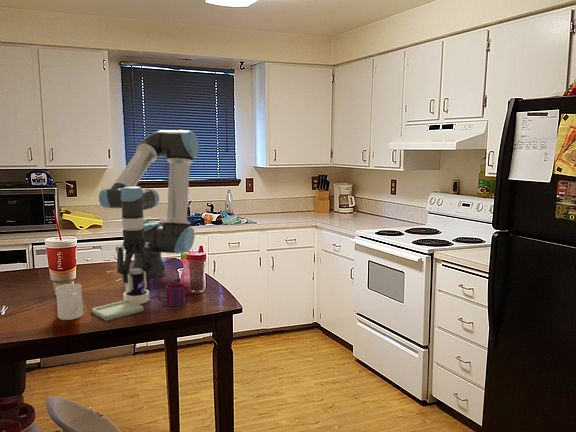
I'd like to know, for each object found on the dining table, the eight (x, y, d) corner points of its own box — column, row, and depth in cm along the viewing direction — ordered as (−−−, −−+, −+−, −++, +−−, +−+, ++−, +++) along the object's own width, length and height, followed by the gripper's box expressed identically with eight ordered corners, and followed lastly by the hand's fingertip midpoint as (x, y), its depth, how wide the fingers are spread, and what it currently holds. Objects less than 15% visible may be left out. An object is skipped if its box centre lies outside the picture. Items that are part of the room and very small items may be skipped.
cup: (186, 305, 187) (186, 287, 186) (158, 308, 183) (158, 290, 182) (183, 299, 193) (182, 282, 192) (156, 303, 189) (155, 285, 188)
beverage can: (139, 303, 189) (138, 271, 187) (125, 302, 190) (124, 271, 188) (147, 298, 194) (145, 268, 193) (133, 297, 195) (132, 267, 194)
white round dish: (141, 295, 199) (141, 287, 198) (154, 300, 192) (153, 292, 192) (119, 300, 192) (118, 292, 192) (131, 306, 186) (130, 298, 185)
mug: (55, 315, 176) (53, 286, 174) (78, 310, 181) (77, 282, 179) (65, 325, 166) (63, 294, 165) (90, 320, 171) (88, 290, 170)
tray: (128, 303, 188) (128, 299, 188) (143, 310, 181) (143, 306, 180) (91, 312, 179) (91, 308, 178) (105, 320, 171) (105, 316, 171)
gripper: (150, 224, 197) (153, 282, 201) (104, 230, 184) (107, 292, 188) (161, 226, 192) (163, 286, 195) (114, 233, 179) (117, 296, 182)
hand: (136, 289), depth 191 cm, fingers closed on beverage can, 6 cm apart
